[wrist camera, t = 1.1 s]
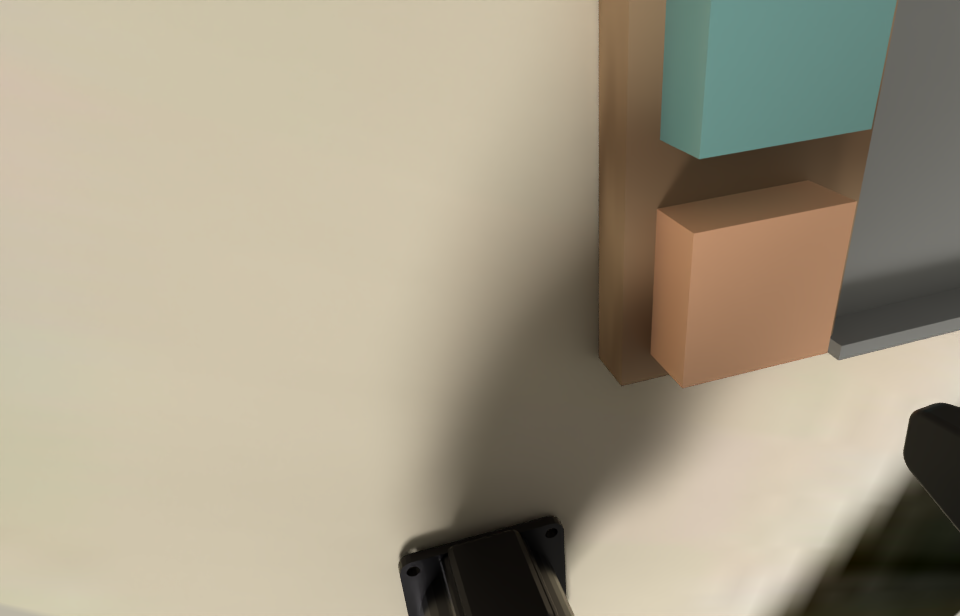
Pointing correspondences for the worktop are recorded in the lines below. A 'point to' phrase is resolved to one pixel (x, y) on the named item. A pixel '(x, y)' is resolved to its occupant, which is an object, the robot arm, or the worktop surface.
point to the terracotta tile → (747, 280)
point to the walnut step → (673, 177)
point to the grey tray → (908, 193)
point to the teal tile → (770, 71)
